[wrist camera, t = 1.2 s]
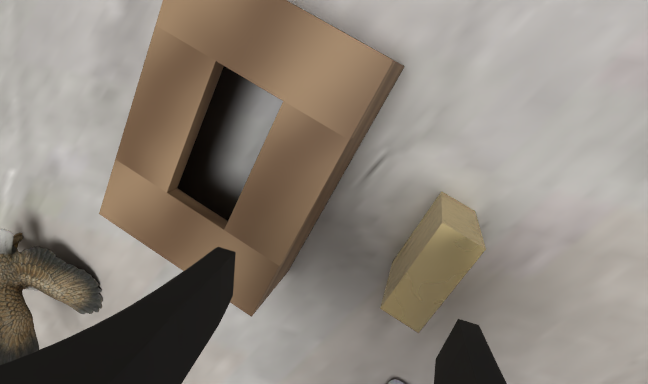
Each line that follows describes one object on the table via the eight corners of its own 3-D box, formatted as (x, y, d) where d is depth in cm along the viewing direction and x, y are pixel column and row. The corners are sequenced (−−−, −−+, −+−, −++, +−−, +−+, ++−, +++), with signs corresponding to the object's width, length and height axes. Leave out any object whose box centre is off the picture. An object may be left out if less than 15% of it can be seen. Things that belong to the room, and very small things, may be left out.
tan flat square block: (475, 211, 20) (486, 249, 15) (422, 280, 22) (418, 333, 17) (441, 191, 20) (442, 222, 16) (392, 261, 22) (380, 308, 17)
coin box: (404, 66, 19) (393, 60, 14) (287, 272, 24) (251, 316, 20) (240, -26, 20) (180, -59, 15) (161, 190, 25) (98, 213, 21)
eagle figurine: (-13, 285, 31) (47, 367, 29) (-112, 279, 25) (-43, 386, 23) (62, 219, 33) (124, 293, 31) (-12, 196, 26) (61, 290, 24)
